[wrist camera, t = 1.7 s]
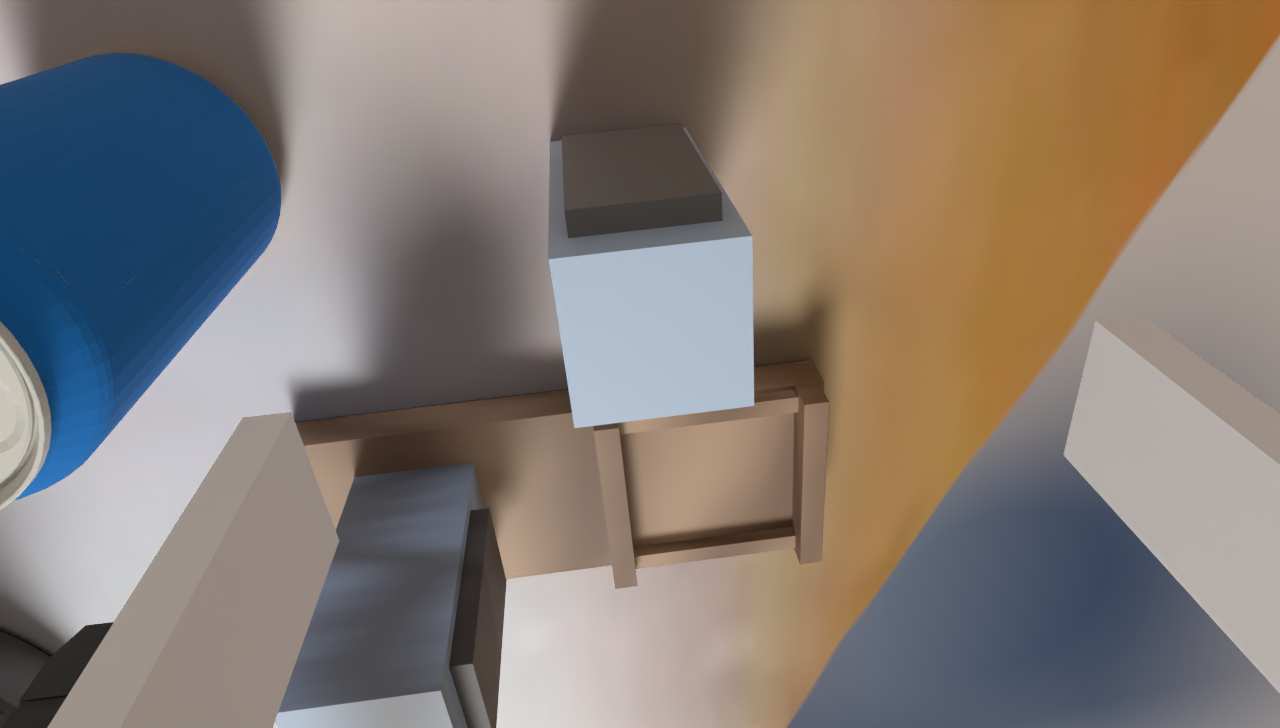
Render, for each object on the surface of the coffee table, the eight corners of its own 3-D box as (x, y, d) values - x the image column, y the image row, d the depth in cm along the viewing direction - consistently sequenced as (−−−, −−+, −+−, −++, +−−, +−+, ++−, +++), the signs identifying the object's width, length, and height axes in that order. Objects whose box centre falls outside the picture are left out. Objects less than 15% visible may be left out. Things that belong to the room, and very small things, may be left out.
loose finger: (692, 252, 25) (754, 406, 17) (567, 267, 25) (574, 428, 17) (684, 105, 23) (752, 206, 15) (547, 120, 23) (544, 230, 15)
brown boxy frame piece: (348, 571, 30) (262, 852, 21) (293, 422, 27) (161, 683, 18) (806, 511, 31) (910, 759, 22) (811, 359, 28) (938, 580, 18)
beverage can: (43, 10, 20) (-498, 117, 10) (306, 98, 22) (82, 269, 11) (39, 237, 23) (-383, 506, 13) (272, 300, 25) (67, 583, 14)
